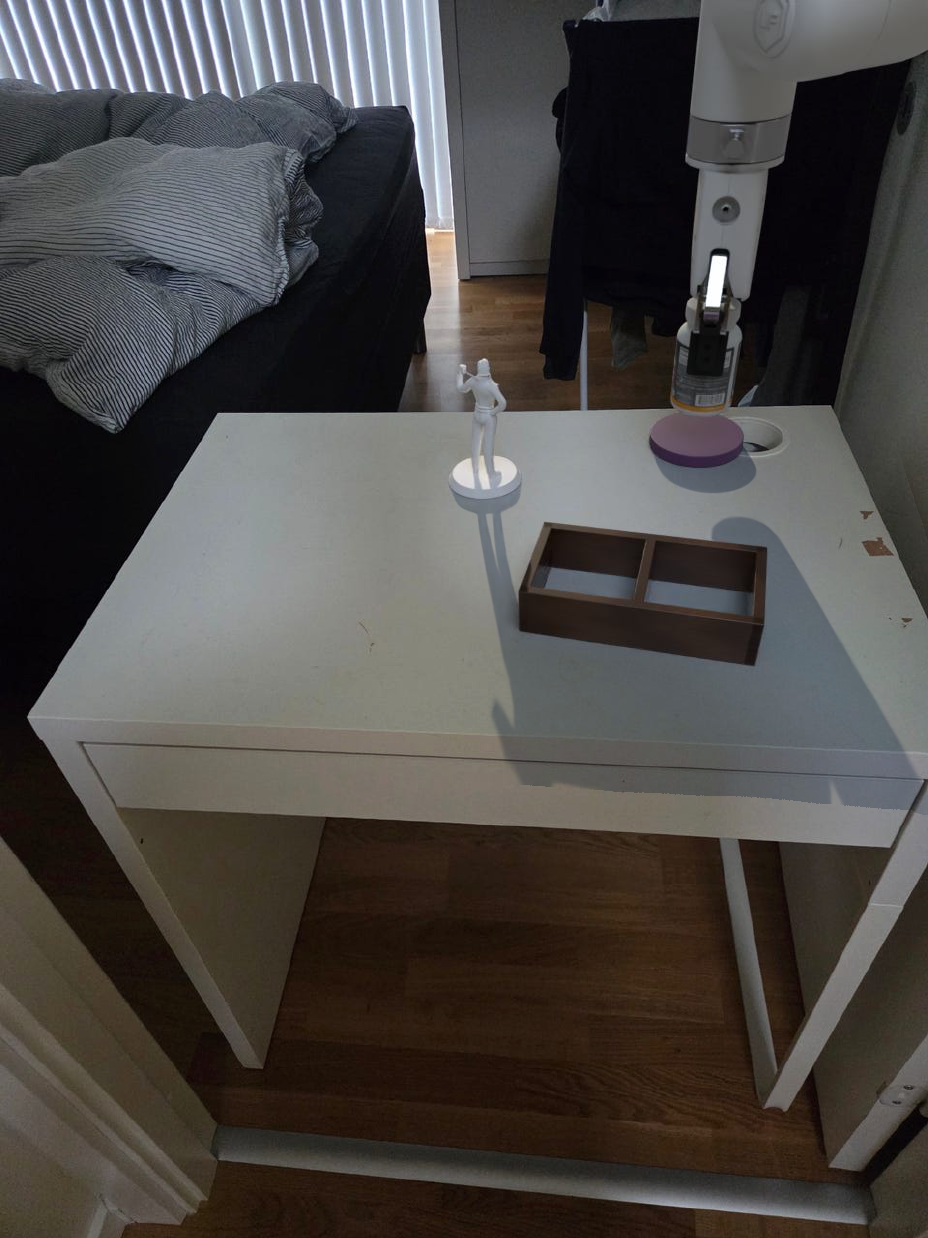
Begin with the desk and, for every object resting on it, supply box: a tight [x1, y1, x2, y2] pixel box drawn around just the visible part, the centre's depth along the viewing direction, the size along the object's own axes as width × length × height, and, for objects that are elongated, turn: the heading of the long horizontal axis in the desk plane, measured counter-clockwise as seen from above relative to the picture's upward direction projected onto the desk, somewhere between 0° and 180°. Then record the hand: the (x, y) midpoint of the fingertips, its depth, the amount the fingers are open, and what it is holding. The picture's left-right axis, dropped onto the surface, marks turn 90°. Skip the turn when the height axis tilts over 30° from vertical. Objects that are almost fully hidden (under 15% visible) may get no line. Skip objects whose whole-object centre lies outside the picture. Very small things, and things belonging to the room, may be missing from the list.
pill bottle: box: [670, 294, 743, 417], centre depth 78 cm, size 6×6×10 cm
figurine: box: [448, 358, 523, 500], centre depth 77 cm, size 7×7×12 cm
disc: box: [648, 412, 745, 468], centre depth 83 cm, size 9×9×1 cm
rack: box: [517, 521, 769, 667], centre depth 64 cm, size 17×9×4 cm, turn 74°
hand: (707, 356), depth 78 cm, fingers closed on pill bottle, 5 cm apart
